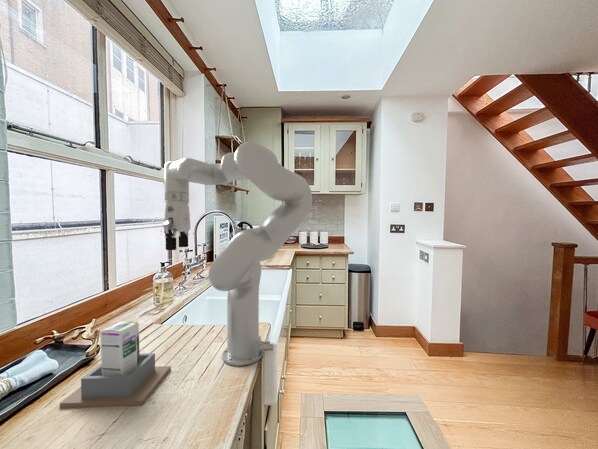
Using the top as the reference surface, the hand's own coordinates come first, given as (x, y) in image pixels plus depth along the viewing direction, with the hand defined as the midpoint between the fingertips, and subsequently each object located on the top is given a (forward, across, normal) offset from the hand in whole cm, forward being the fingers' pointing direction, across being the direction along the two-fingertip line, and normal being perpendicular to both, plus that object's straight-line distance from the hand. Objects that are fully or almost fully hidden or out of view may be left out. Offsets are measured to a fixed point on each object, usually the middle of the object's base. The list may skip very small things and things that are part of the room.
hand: (177, 248), depth 89 cm
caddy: (+32, -24, +4) cm, 40 cm away
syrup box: (+32, -24, +4) cm, 40 cm away
